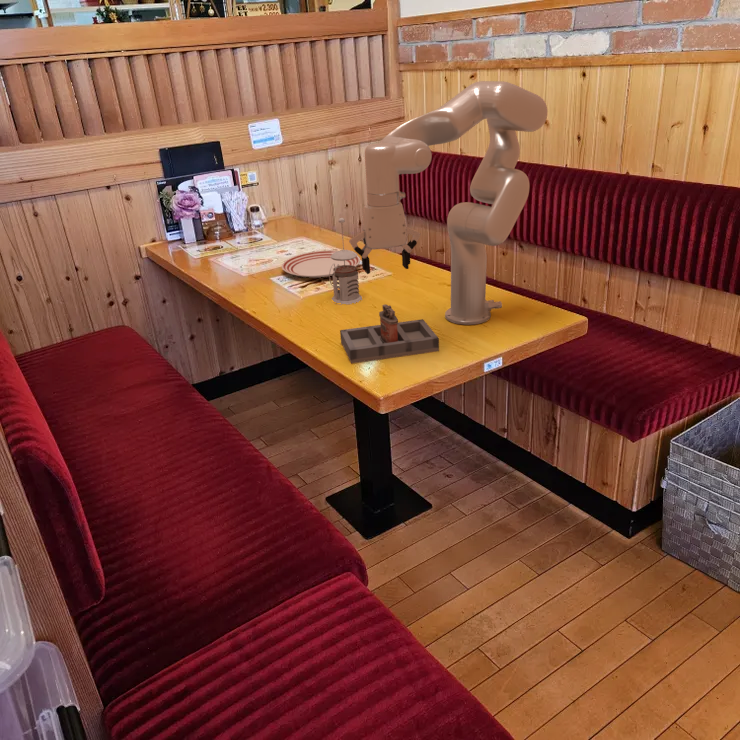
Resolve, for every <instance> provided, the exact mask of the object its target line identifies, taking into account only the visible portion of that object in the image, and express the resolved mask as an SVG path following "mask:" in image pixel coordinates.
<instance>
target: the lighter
mask: <svg viewBox="0 0 740 740" xmlns="http://www.w3.org/2000/svg"><path fill="white" fill-rule="evenodd" d="M381 306H382V310H381V311H379V312H378V313H379V316H378V317H380V318H379V320H380V324H379V325H381V336H380V340H381V341H382V343H390V342H397V341H398V333H397V323H398V322H399V318H398V316H396V311H395V310H394V309H393V308H392V306H391V305H388V304H385V303H384V304H382V305H381Z"/></svg>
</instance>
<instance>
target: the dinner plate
mask: <svg viewBox="0 0 740 740" xmlns="http://www.w3.org/2000/svg"><path fill="white" fill-rule="evenodd" d="M337 251H338V250H334V249H333V250H332V249H331V250H316V251H315V250H314V251H310V252H304V253H300V254H297V255H295V256H292V257H289V258H287V259H286V260H285V261H283V262H282V264H281V269H282V271H283V272H285V273H287V274H290V275H293V276H298V277H301V278H302V277H303V278H306V277H309V278H308V279H322V278H321V277H326V278H329V273H330V276H332V277H333V273H334V271H333V269H334V268H335V267H336V266H337V265H338V264H339V265H338V266H341V265H344V261H336V260H333V259H331V255H332V254H333V253H335V252H337ZM360 257H361V256H360V255H359V254H357V257H356V258H354V259H351V260H345V265H353V266H355V267H356V268H357V267H358V266H359V264H360V263H361V258H360ZM333 264H335V267H334V265H333ZM332 265H333V266H332ZM331 266H332V268H331ZM330 268H331V271H330Z"/></svg>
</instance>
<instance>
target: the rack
mask: <svg viewBox="0 0 740 740" xmlns="http://www.w3.org/2000/svg"><path fill="white" fill-rule="evenodd" d="M339 331H340V332H339V334H340V342H341V343H340V344H341V345H342V348H343V349H344V351H345V354H346V356H347V358H348V359H349V362H350V363H351V364H357V363H365V362H372V361H379V360H384V359H385V360H386V359H393V358H399V357H406V356H407V357H408V356H413V355H422V354H427V353H434V352H435V353H437V352H439V351H440V338H439V336H437V334H436V333H435V332H434V331H433V330H432V328H431V327H430V326H429V325H428V323H427V322H426V321H425V319H423V318H422V319H415V320H414V319H413V320H408V321H400V322H399V321H398V323H397V333H398V341H397V342H390V343H382V341H381V340H380V336H381V324H377V325H376V324H375V325H368V326H362V327H356V328H355V327H353V328H346V329H340V330H339Z"/></svg>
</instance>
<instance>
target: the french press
mask: <svg viewBox="0 0 740 740" xmlns="http://www.w3.org/2000/svg"><path fill="white" fill-rule="evenodd" d="M345 222H346V220H345V218H344V217H340V218H338V223H341V225H343V223H345ZM343 231H344V229H343V226H341V234H342V235H341V237H342V240H344V232H343ZM336 251H337V252H335V253H333V254H332V255H331V259H333V260H336V261H344V265H341V266H338V265H339V264H338V265H337V266H336V267H335V264H333V265H334V267H335V268H334V269H333V271H334V273H333V276H332V281H331V277H330V273H329V277H328V278H329V282H330V285H331V286H332V287H333V296H332V297H331V299H332V300H333V301H334V302H336V303H341V304H340V305H342V304H346V305H353V304H352V303H354V304H357V303H360V302H361V301H363V299H362V297H363V296H362V295H361V294H360V293H359V292H360V289H359V288H360V285H359V272H358V271H357V269H358V267H357V266H356V267H355V266H353V265H345V260H351V259H354V258H356V257H357V255H358V253H357V252H356V251H353V250H351V249H350V250H349V249H345V245H344V242H342V249H340V250H336ZM333 265H332V266H333ZM332 266H331V268H332ZM331 268H330V271H331ZM360 300H361V301H360ZM359 301H360V302H359ZM356 302H357V303H356ZM336 303H335V304H336Z"/></svg>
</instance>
